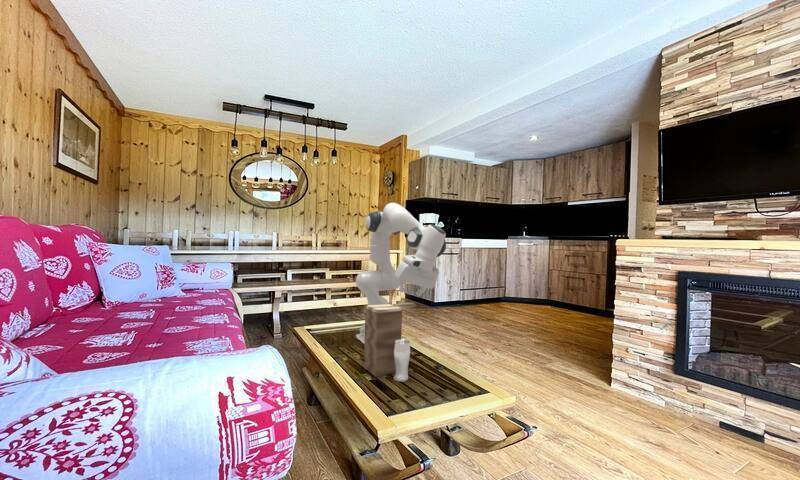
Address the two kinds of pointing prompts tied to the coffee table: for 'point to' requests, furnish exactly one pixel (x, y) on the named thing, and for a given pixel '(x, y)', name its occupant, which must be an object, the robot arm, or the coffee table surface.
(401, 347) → the beer glass
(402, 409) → the coffee table surface
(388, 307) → the beige t-shaped block
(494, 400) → the coffee table surface
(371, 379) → the coffee table surface
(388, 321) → the stand
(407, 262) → the robot arm
